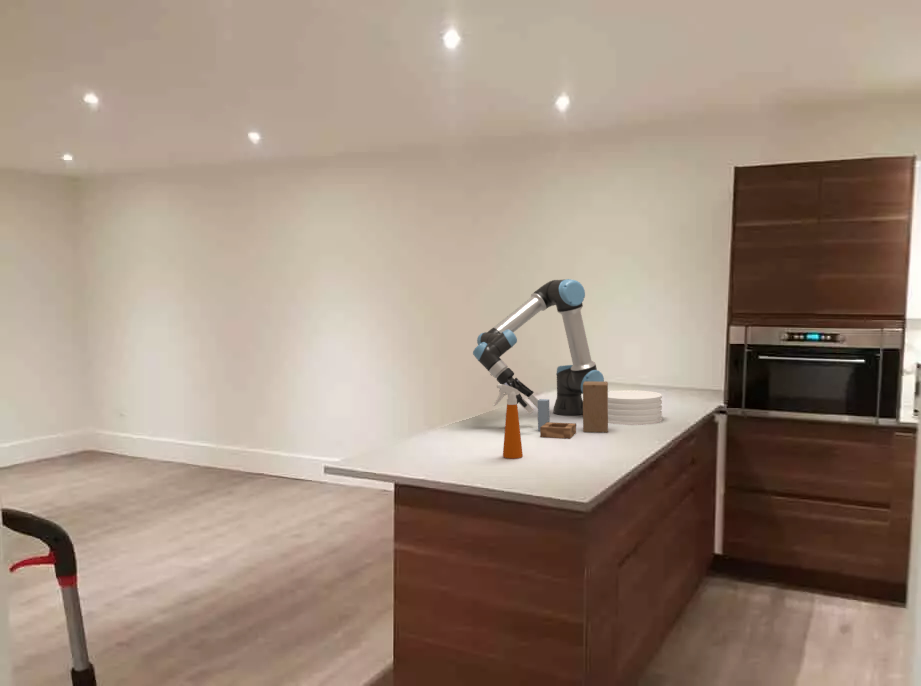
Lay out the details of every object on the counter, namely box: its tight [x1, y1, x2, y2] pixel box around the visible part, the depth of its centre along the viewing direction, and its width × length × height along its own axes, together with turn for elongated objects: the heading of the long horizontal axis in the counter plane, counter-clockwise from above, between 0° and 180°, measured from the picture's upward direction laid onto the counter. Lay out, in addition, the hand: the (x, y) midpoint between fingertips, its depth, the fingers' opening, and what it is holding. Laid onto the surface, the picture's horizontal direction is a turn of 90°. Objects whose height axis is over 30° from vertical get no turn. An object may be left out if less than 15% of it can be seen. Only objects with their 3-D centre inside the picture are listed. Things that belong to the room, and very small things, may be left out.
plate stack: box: [608, 389, 663, 426], centre depth 338 cm, size 28×28×12 cm
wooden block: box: [582, 381, 609, 433], centre depth 312 cm, size 10×10×20 cm
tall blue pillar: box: [537, 398, 551, 432], centre depth 314 cm, size 4×4×13 cm
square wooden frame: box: [539, 421, 577, 440], centre depth 304 cm, size 12×12×4 cm
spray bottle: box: [492, 383, 524, 460], centre depth 265 cm, size 7×11×26 cm, turn 111°
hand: (536, 409), depth 314 cm, fingers open, 13 cm apart
